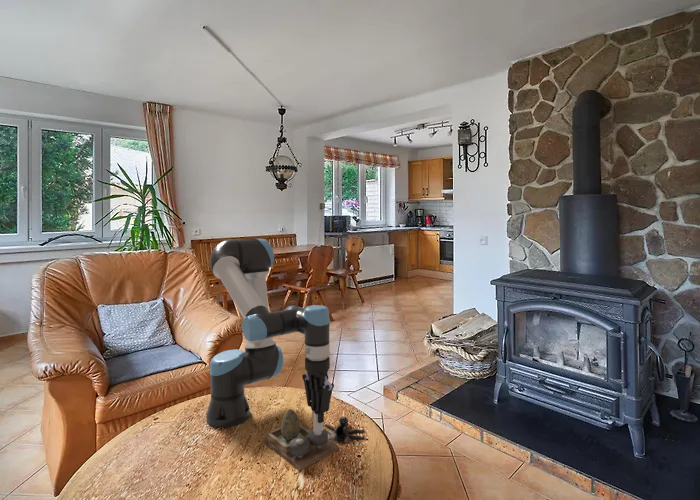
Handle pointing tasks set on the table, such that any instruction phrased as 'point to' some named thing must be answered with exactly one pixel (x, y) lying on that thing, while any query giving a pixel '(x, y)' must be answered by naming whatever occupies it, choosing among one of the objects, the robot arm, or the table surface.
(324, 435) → the wheel
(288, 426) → the decorative egg
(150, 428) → the table surface
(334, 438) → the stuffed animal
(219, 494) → the table surface
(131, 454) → the table surface
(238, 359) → the robot arm
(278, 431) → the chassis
